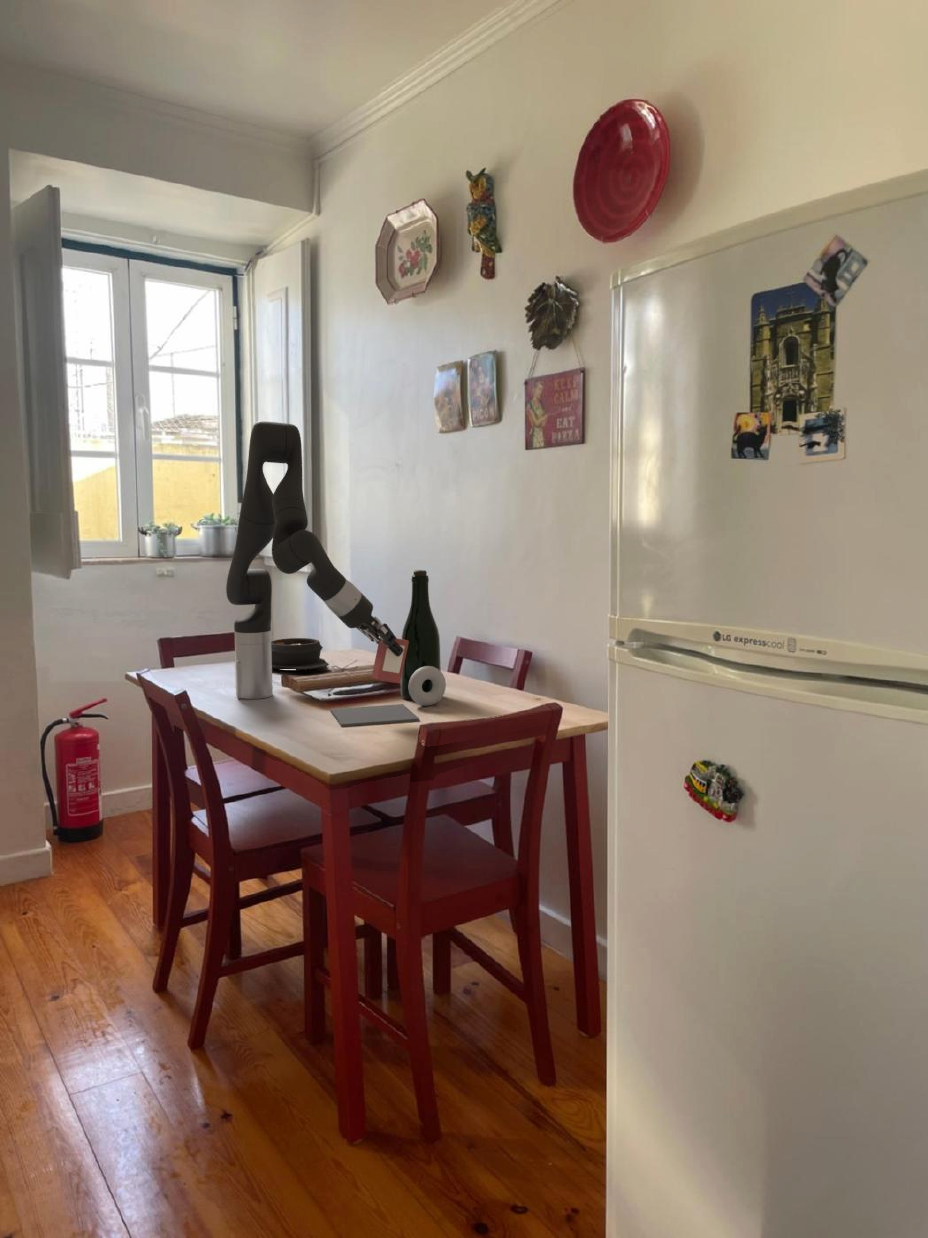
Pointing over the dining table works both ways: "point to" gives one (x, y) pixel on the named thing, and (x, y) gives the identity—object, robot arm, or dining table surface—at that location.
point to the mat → (373, 715)
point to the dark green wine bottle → (420, 635)
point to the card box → (389, 663)
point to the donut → (418, 680)
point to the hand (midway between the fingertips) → (396, 652)
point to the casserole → (297, 654)
